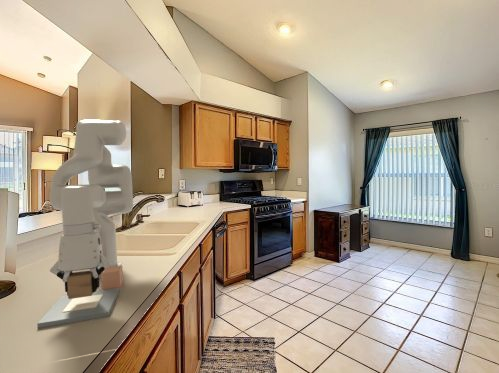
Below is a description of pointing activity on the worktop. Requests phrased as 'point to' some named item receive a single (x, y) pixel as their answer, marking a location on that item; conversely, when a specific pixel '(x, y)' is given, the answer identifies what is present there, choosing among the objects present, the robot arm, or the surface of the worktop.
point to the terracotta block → (112, 277)
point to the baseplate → (80, 308)
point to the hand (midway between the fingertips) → (83, 291)
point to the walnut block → (79, 284)
